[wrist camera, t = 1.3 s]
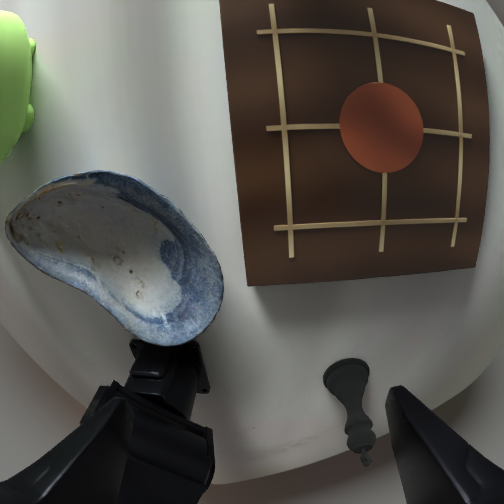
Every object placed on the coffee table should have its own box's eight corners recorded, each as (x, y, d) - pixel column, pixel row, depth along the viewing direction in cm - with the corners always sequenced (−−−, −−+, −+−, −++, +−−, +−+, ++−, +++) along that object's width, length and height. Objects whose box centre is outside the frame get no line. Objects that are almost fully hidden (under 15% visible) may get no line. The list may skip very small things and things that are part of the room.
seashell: (77, 315, 24) (50, 347, 19) (35, 184, 19) (-6, 201, 15) (237, 312, 23) (230, 356, 18) (210, 142, 18) (191, 147, 13)
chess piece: (355, 350, 24) (384, 446, 15) (375, 374, 25) (403, 460, 16) (313, 373, 25) (326, 469, 16) (337, 395, 26) (352, 481, 17)
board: (466, 259, 20) (476, 268, 18) (248, 276, 21) (247, 287, 20) (463, 17, 12) (474, 12, 11) (221, -7, 13) (217, -17, 12)
